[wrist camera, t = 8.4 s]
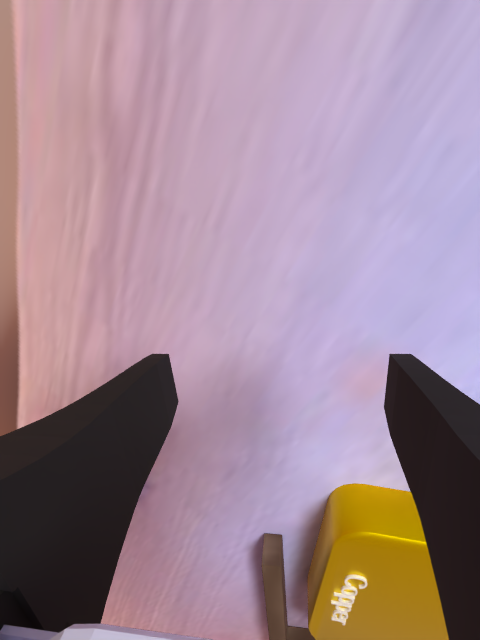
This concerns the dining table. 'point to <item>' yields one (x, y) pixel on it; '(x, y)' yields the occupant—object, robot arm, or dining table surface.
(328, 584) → the element tile
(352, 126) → the dining table surface
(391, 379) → the robot arm
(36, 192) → the dining table surface
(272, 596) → the walnut holder
